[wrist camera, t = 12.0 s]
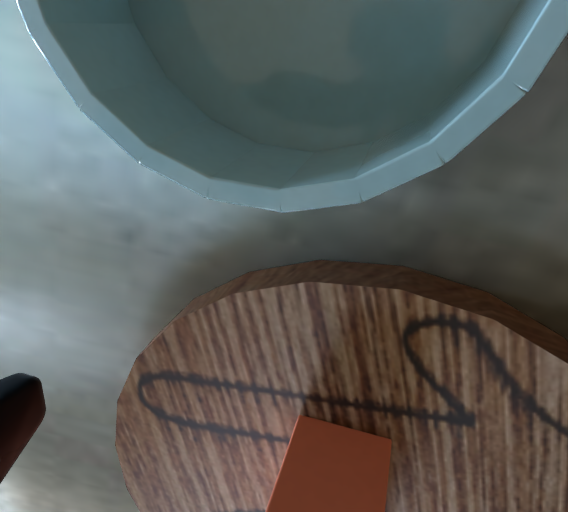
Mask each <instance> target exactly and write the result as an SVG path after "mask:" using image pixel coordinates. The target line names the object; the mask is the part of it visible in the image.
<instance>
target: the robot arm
mask: <svg viewBox="0 0 568 512" xmlns="http://www.w3.org/2000/svg"><path fill="white" fill-rule="evenodd" d="M45 412H46V406H45V400H44V395H43V389H42V384H41V381H40V380H39V378H37V377H34V376H31V375H28V374H24V373H16V374H13V375H11V376H8V377H6V378H3V379H1V380H0V483H1V482H2V480H3V479H4V477H5V476H6V474H7V473H8V471H9V470H10V468H11V467H12V465H13V464H14V462H15V461H16V460H17V458H18V457H19V455H20V454H21V452H22V451H23V449H24V448H25V446H26V445H27V443H28V442H29V440H30V439H31V437H32V436H33V434H34V433H35V431H36V430H37V428H38V427H39V425H40V424H41V422H42V420H43V418H44V416H45Z"/></svg>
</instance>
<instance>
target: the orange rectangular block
mask: <svg viewBox="0 0 568 512" xmlns="http://www.w3.org/2000/svg"><path fill="white" fill-rule="evenodd" d="M391 444H392V441H391V439H388V438H384V437H380V436H377V435H373V434H369V433H366V432H362V431H358V430H355V429H351V428H347V427H344V426H340V425H336V424H333V423H329V422H325V421H322V420H318V419H314V418H311V417H307V416H303V415H299V416H298V418H297V421H296V424H295V427H294V430H293V433H292V436H291V439H290V442H289V445H288V447H287V450H286V453H285V456H284V459H283V462H282V465H281V468H280V471H279V474H278V477H277V479H276V482H275V485H274V488H273V491H272V494H271V497H270V500H269V503H268V506H267V509H266V511H265V512H385V505H386V495H387V485H388V474H389V464H390V454H391Z"/></svg>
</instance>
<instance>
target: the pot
mask: <svg viewBox="0 0 568 512" xmlns="http://www.w3.org/2000/svg"><path fill="white" fill-rule="evenodd" d="M16 1H17V4H18V6H19V9H20V11H21V14H22V17H23V19H24V22H25V24H26V27H27V30H28V32H29V33H31V34H30V36H31V37H32V39H33V40H34V42H35V43H36V45H37V46H38V48H39V49H40V51H41V52H42V54H43V55H44V57H45V58H46V60H47V61H48V63H49V64H50V66H51V67H52V69H53V71H54V72H55V74H56V75H57V77H58V78H59V80H60V81H61V83H62V84H63V86H64V87H65V89H66V90H67V92H68V93H69V95H70V96H71V98H72V99H73V101H74V102H75V104H76V105H77V107H78V108H80V110H81V111H82V112H83V113H84V114H85V115H86V116H87V117H88V118H89V119H90V120H92V121H93V122H94V123H95V124H96V125H97V126H98V127H99V128H100V129H101V130H102V131H103V132H105V133H106V134H107V135H108V136H109V137H110V138H111V139H112V140H113V141H114V142H115V143H116V144H118V145H119V146H120V147H121V148H122V149H123V150H124V151H125V152H126V153H127V154H128V155H129V156H131V157H132V158H133V159H134V160H135V161H136V162H137V163H140V164H141V165H142V166H144V167H146V168H148V169H150V170H152V171H154V172H156V173H158V174H160V175H162V176H164V177H166V178H168V179H169V180H171V181H173V182H175V183H177V184H179V185H181V186H183V187H185V188H187V189H189V190H191V191H193V192H195V193H197V194H199V195H200V196H202V197H204V198H208V199H211V200H216V201H222V202H227V203H232V204H238V205H243V206H249V207H254V208H260V209H265V210H270V211H276V212H282V213H287V212H295V211H303V210H311V209H319V208H327V207H335V206H343V205H351V204H359V203H362V201H367V200H369V199H372V198H374V197H376V196H378V195H380V194H382V193H385V192H387V191H389V190H391V189H393V188H396V187H398V186H400V185H402V184H404V183H406V182H409V181H411V180H413V179H415V178H417V177H420V176H422V175H424V174H426V173H428V172H430V171H433V170H435V169H437V168H439V167H441V166H443V165H444V164H445V162H446V163H447V162H449V161H450V160H452V159H453V158H454V157H455V156H456V155H457V154H458V153H460V152H461V151H462V150H463V149H464V148H465V147H467V146H468V145H469V144H470V143H471V142H472V141H473V140H475V139H476V138H477V137H478V136H479V135H480V134H481V133H483V132H484V131H485V130H486V129H487V128H488V127H489V126H491V125H492V124H493V123H494V122H495V121H496V120H497V119H499V118H500V117H501V116H502V115H503V114H504V113H505V112H507V111H508V110H509V109H510V108H511V107H512V106H513V105H515V104H516V103H517V102H518V101H519V100H520V99H521V98H523V97H524V96H525V94H526V92H528V91H530V89H531V88H532V86H533V85H534V83H535V82H536V80H537V79H538V77H539V76H540V74H541V73H542V71H543V70H544V68H545V67H546V65H547V64H548V62H549V61H550V59H551V58H552V56H553V55H554V53H555V52H556V50H557V49H558V47H559V46H560V44H561V43H562V41H563V40H564V38H565V37H566V35H567V34H568V0H16Z"/></svg>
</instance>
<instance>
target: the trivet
mask: <svg viewBox="0 0 568 512" xmlns="http://www.w3.org/2000/svg"><path fill="white" fill-rule="evenodd" d="M299 415H303V416H307V417H311V418H314V419H318V420H322V421H325V422H329V423H333V424H336V425H340V426H344V427H347V428H351V429H355V430H358V431H362V432H366V433H369V434H373V435H377V436H380V437H384V438H388V439H391V441H392V444H391V454H390V464H389V474H388V485H387V495H386V505H385V512H568V342H567V341H566V340H565V339H564V338H563V337H562V336H560V335H558V334H557V333H555V332H553V331H552V330H550V329H548V328H547V327H545V326H543V325H542V324H540V323H538V322H537V321H535V320H533V319H532V318H530V317H528V316H527V315H525V314H523V313H522V312H520V311H518V310H517V309H515V308H513V307H511V306H510V305H508V304H506V303H505V302H503V301H501V300H500V299H498V298H496V297H495V296H493V295H491V294H490V293H488V292H485V291H482V290H478V289H475V288H472V287H469V286H466V285H462V284H459V283H456V282H453V281H450V280H446V279H443V278H440V277H437V276H434V275H430V274H427V273H424V272H421V271H418V270H414V269H411V268H408V267H405V266H397V265H383V264H370V263H356V262H343V261H329V260H316V261H311V262H305V263H299V264H293V265H287V266H282V267H276V268H270V269H264V270H259V271H253V272H248V273H246V274H244V275H242V276H240V277H238V278H236V279H234V280H232V281H230V282H227V283H225V284H223V285H221V286H219V287H217V288H215V289H213V290H211V291H209V292H207V293H205V294H203V295H201V296H199V297H197V298H195V299H193V300H192V301H191V302H190V303H189V304H188V305H187V306H186V307H185V308H184V309H183V310H182V311H181V312H180V313H179V314H178V315H177V316H176V317H175V318H174V319H173V320H172V321H171V322H170V323H169V324H168V325H167V326H166V327H165V328H164V329H163V330H162V331H161V332H160V333H159V334H158V335H157V336H156V337H155V338H154V339H153V340H152V341H151V342H150V344H149V345H148V346H147V347H146V348H145V349H144V350H143V351H142V353H141V354H140V355H139V356H138V357H137V358H136V360H135V362H134V365H133V367H132V369H131V371H130V374H129V376H128V378H127V381H126V383H125V385H124V387H123V390H122V392H121V394H120V396H119V399H118V401H117V421H116V441H115V446H116V450H117V453H118V457H119V461H120V465H121V468H122V472H123V476H124V479H125V483H126V487H127V490H128V491H129V493H130V495H131V497H132V499H133V500H134V502H135V504H136V506H137V507H138V509H139V511H140V512H265V511H266V509H267V506H268V503H269V500H270V497H271V494H272V491H273V488H274V485H275V482H276V479H277V477H278V474H279V471H280V468H281V465H282V462H283V459H284V456H285V453H286V450H287V447H288V445H289V442H290V439H291V436H292V433H293V430H294V427H295V424H296V421H297V418H298V416H299Z"/></svg>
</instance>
